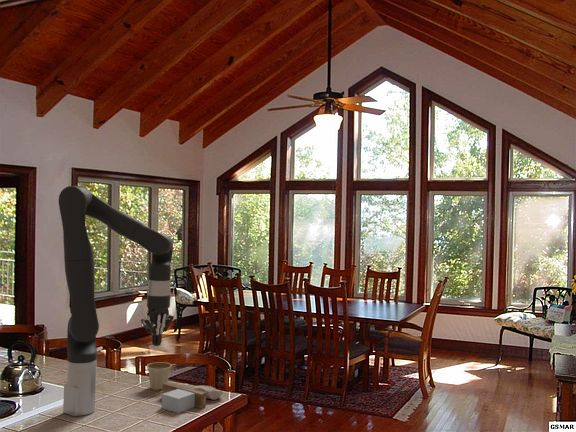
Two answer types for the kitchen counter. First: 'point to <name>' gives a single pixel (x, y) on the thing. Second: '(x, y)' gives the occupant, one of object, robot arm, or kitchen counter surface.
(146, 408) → the kitchen counter surface
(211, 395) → the fossil
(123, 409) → the kitchen counter surface
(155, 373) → the flower pot
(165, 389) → the board
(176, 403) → the block
